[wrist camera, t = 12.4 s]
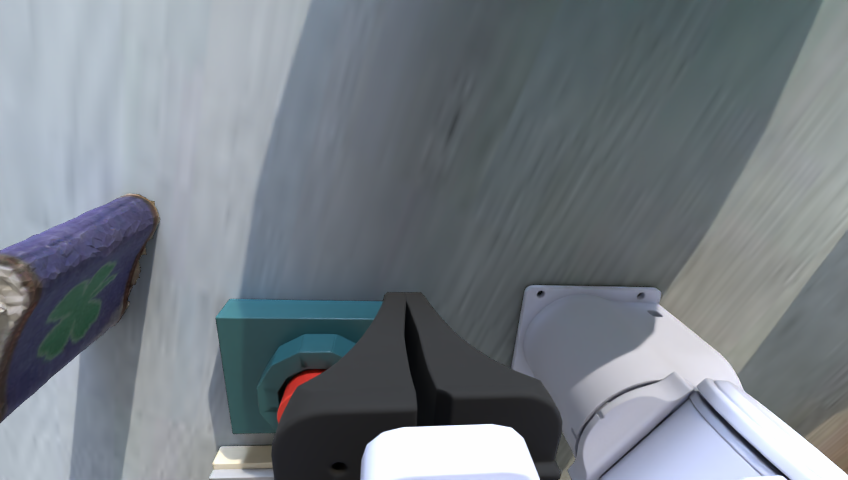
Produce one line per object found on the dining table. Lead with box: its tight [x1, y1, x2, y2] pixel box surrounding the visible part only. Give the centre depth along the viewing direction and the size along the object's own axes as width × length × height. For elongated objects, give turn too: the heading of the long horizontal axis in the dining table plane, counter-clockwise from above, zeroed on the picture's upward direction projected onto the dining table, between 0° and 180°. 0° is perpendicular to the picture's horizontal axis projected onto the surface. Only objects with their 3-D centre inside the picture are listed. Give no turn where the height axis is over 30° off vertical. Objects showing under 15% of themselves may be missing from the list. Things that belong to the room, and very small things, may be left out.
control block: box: [216, 299, 383, 434], centre depth 25 cm, size 12×9×4 cm
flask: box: [0, 194, 160, 423], centre depth 18 cm, size 9×3×11 cm, turn 150°
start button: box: [277, 369, 326, 424], centre depth 23 cm, size 4×4×2 cm
